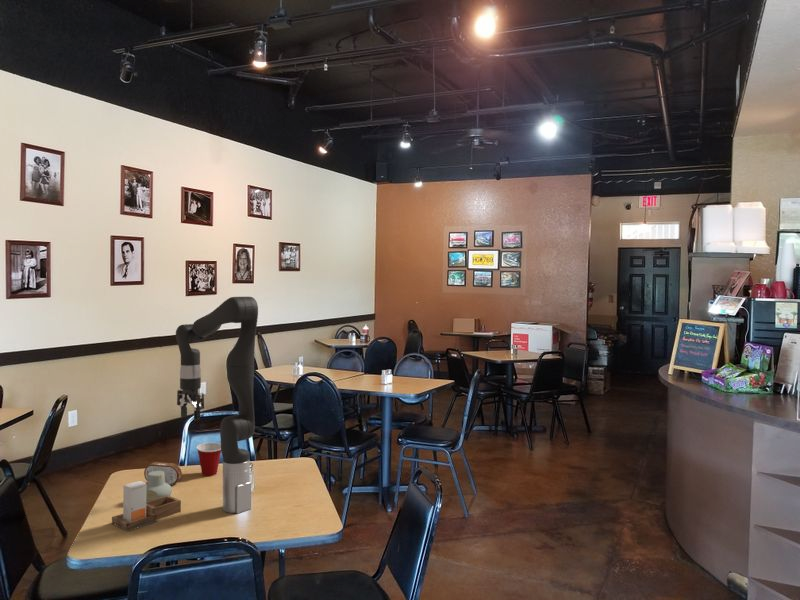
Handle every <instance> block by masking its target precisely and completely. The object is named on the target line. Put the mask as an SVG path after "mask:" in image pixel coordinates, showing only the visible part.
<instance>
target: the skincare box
mask: <svg viewBox="0 0 800 600" xmlns="http://www.w3.org/2000/svg"><path fill="white" fill-rule="evenodd" d="M146 487H147V483H146V482H144V481H142V480H139V481H135V482H134V481H133V482H130V483H127V484H123V487H122V488H123V494H122V497H123V500H122V507H123V509H122V514H123V521H125V522H127V523H131V522H134V521H137V520H140V519H143V518H146V502H147V501H146Z"/></svg>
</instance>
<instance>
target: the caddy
mask: <svg viewBox="0 0 800 600" xmlns="http://www.w3.org/2000/svg"><path fill="white" fill-rule="evenodd" d="M181 501H182V500H181V499H178V498H175V497H174V496H171V495H170V496H164V497H161V498H158V499H154V500H151V501H148V502H147V501H146V518H143V519H140V520H137V521H134V522H131V523H127V522H125V521H123V513H120V514H117V515H114V516H112V517H111V524H112V523H114V524H116V525H118V526H120V527H122V528H123V529H122V528H121V529H122V530H124V529H125V530H124V531H126V530H127V531H126V532H129V531H128V530H130V531H132V530H131V529H133V530H135V529H134V528H136V529H138V528H137V527H139V528H141V526H142V527H145V526H147V525H151V524H153V523H154V524H155V523H156V522H157V521H158V520H159V519H163V518H166V517H169V516H172V515H175V514H179V513H181V511H182V510H181V509H182V505H181V504H182V502H181ZM114 524H113V525H114ZM116 525H115V526H116ZM118 526H117V527H118ZM120 527H119V528H120Z"/></svg>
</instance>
